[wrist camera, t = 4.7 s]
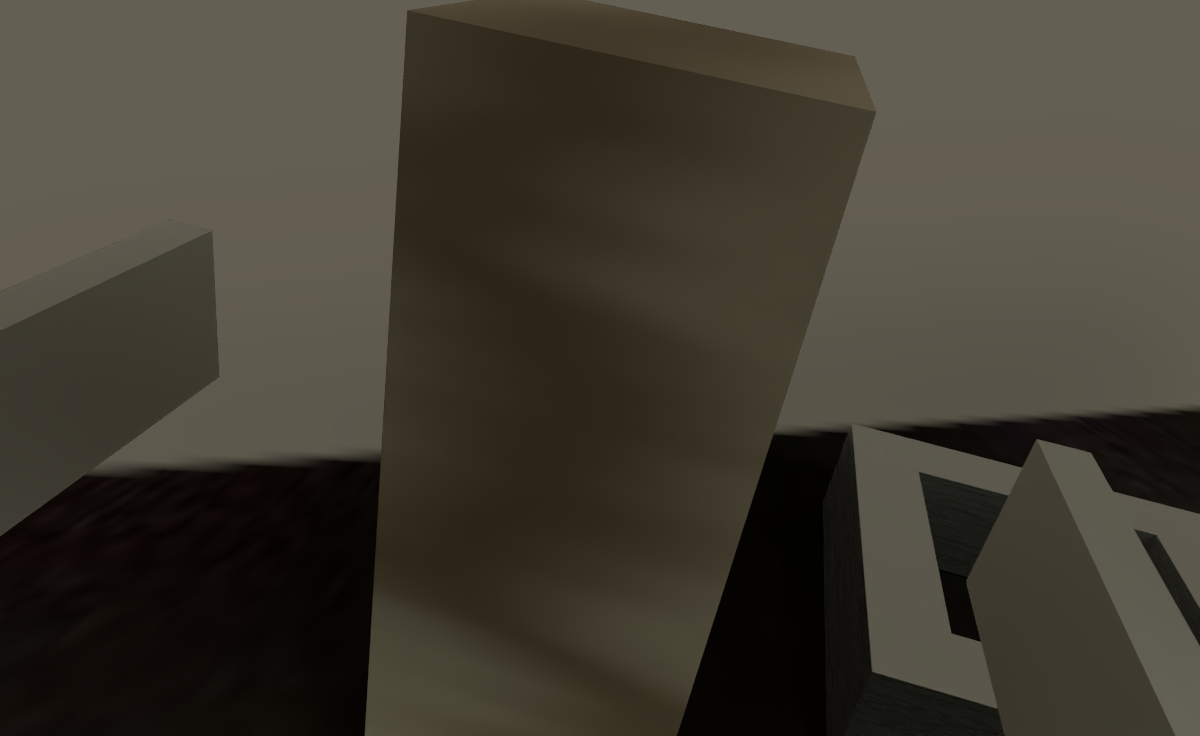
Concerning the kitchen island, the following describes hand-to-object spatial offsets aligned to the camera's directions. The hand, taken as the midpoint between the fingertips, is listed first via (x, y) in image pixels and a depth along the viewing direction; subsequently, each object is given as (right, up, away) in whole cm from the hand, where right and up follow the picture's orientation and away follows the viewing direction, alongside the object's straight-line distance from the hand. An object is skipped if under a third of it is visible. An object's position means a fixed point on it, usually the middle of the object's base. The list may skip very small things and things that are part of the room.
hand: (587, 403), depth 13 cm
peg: (-1, -8, +3) cm, 8 cm away
